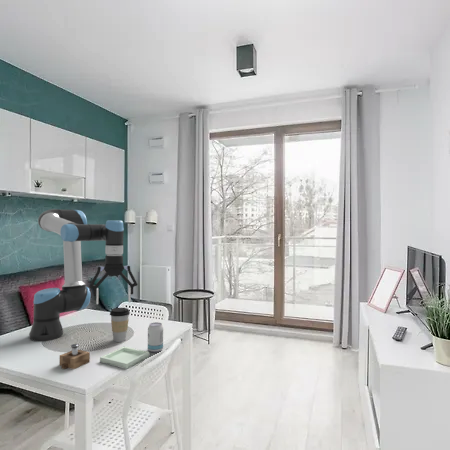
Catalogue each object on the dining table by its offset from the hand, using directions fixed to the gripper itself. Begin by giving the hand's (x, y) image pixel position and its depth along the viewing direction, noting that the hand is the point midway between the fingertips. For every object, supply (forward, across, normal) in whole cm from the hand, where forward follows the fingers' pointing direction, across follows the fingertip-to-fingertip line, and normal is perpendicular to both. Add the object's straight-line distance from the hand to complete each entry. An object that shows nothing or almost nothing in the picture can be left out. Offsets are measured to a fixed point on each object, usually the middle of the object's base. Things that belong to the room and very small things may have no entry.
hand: (113, 302), depth 152 cm
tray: (+22, +5, -10) cm, 25 cm away
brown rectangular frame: (+22, -15, -8) cm, 28 cm away
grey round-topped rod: (+22, -15, -8) cm, 28 cm away
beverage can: (+22, +18, -3) cm, 29 cm away
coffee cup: (+22, +3, +16) cm, 28 cm away
